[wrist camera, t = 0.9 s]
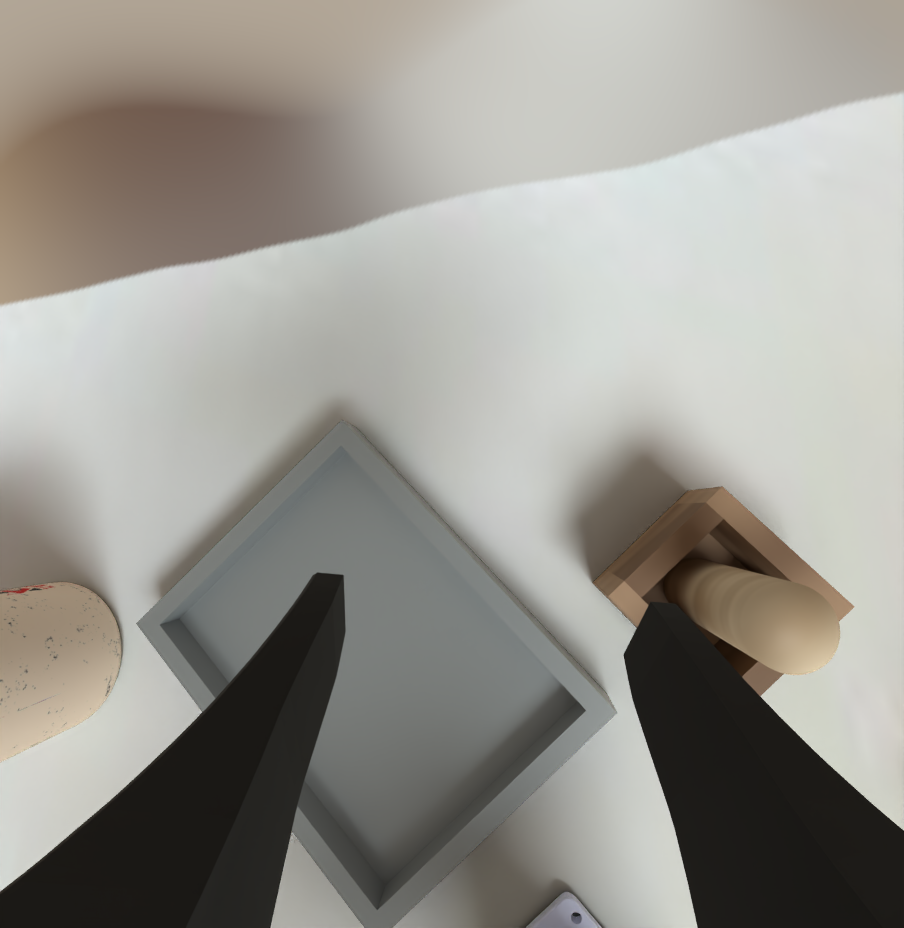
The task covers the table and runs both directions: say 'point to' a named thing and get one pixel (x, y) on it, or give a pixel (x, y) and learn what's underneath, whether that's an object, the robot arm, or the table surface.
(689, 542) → the wooden roll holder
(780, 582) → the dowel
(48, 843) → the table surface
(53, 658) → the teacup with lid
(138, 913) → the robot arm
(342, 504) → the tray
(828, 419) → the table surface
